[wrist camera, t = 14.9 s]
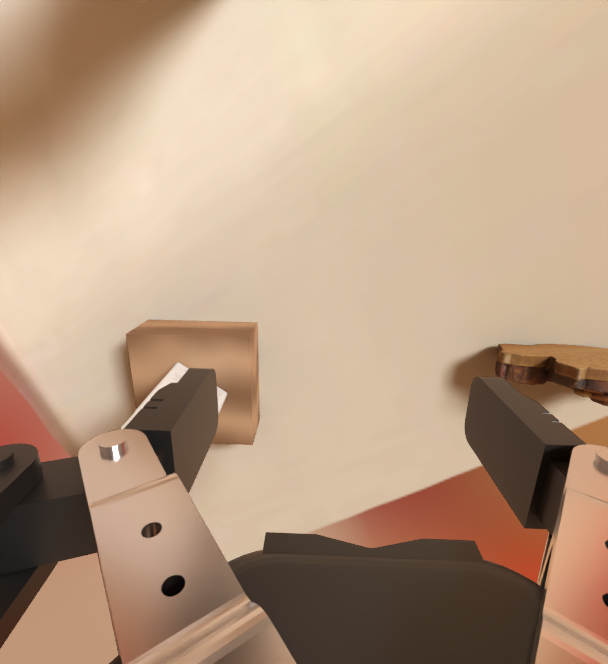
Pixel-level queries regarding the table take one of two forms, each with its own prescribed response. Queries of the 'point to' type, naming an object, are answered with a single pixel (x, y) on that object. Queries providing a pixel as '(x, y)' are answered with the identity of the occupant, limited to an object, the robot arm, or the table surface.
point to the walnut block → (203, 366)
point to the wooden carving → (557, 367)
